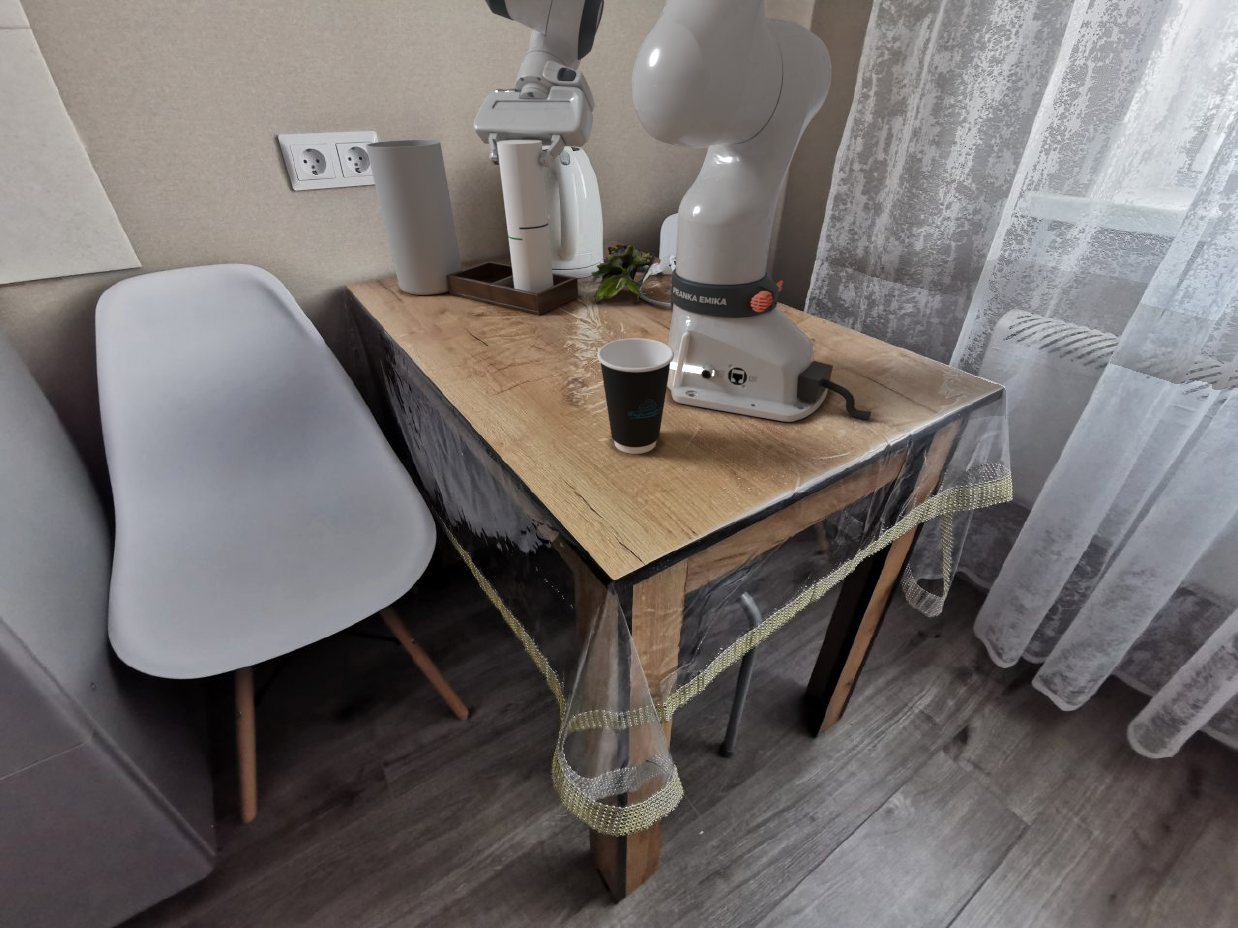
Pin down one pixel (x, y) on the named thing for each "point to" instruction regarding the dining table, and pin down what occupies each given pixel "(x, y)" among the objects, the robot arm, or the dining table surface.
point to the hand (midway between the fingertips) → (519, 163)
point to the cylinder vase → (416, 213)
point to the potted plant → (621, 271)
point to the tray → (509, 288)
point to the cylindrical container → (526, 213)
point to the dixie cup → (635, 390)
